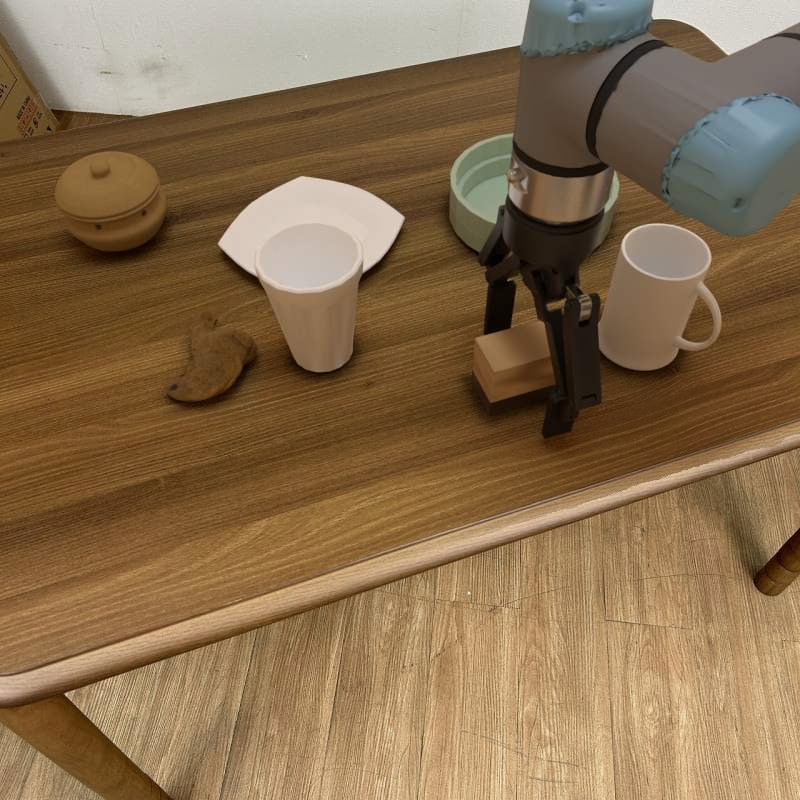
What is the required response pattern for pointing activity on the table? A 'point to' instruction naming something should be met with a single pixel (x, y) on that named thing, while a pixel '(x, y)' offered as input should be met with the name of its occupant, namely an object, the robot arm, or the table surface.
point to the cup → (313, 289)
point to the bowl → (492, 191)
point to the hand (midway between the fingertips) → (524, 380)
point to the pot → (111, 200)
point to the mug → (655, 297)
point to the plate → (313, 218)
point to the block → (512, 368)
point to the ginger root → (212, 360)
